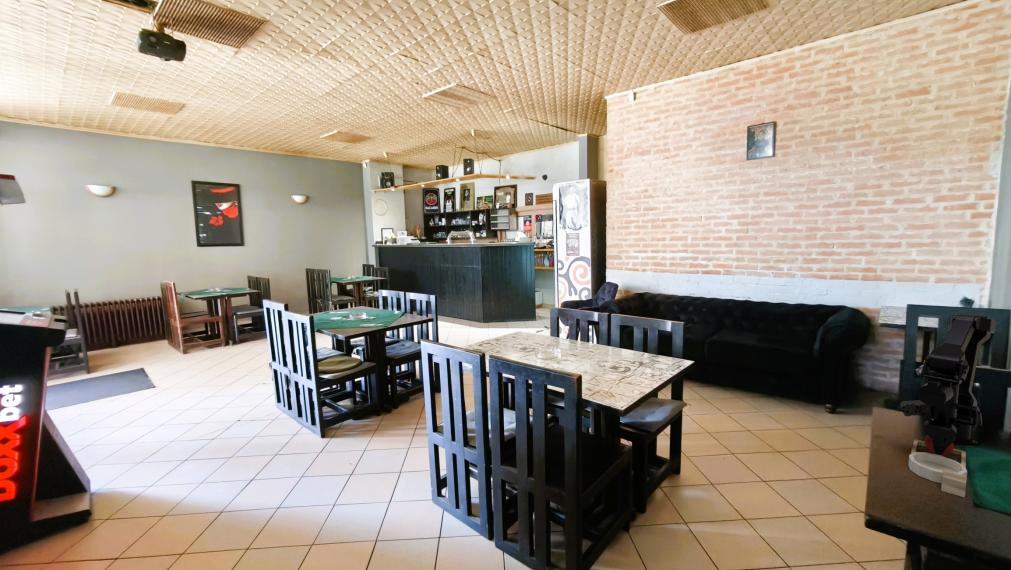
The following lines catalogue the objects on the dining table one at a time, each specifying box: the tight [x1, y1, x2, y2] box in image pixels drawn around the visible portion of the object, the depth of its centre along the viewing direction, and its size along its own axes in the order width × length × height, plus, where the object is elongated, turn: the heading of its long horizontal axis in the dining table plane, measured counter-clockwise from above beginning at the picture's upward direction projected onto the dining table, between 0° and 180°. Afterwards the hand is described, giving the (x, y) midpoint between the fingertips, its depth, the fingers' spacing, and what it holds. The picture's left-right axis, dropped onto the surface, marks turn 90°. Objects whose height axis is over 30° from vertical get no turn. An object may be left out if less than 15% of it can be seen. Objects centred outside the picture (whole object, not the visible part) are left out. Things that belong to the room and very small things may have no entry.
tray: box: [910, 438, 967, 469], centre depth 120 cm, size 11×11×1 cm
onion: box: [924, 435, 955, 457], centre depth 120 cm, size 6×6×8 cm
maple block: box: [940, 470, 967, 498], centre depth 105 cm, size 4×4×4 cm
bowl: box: [908, 451, 968, 484], centre depth 112 cm, size 11×11×3 cm
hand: (938, 448), depth 120 cm, fingers open, 9 cm apart
